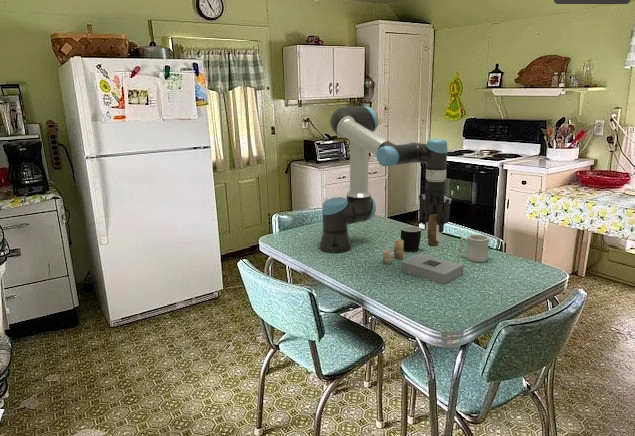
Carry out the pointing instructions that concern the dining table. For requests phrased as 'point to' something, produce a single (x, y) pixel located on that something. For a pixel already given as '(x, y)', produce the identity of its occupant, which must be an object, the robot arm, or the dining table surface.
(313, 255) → the dining table surface
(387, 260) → the short pin
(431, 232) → the long pin
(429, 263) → the hole board
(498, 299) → the dining table surface
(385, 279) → the dining table surface
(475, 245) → the mug
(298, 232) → the dining table surface
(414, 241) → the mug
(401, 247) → the medium pin
